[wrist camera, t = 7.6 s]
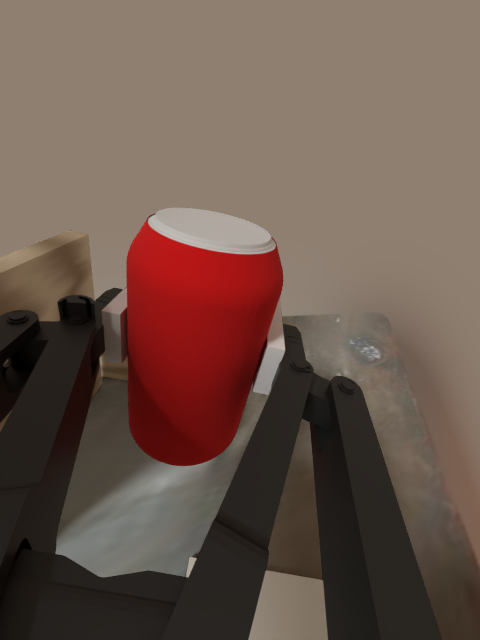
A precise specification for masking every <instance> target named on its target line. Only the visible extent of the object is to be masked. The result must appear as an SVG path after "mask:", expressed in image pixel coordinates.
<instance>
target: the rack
mask: <svg viewBox="0 0 480 640" xmlns="http://www.w3.org/2000/svg"><path fill="white" fill-rule="evenodd" d="M70 295H84V296H88V297H90V298H92V299H93V300H94V291H93V279H92V268H91V258H90V247H89V236H88V234H85V233H81V232H76V231H72V230H70V231H68V232H65V233H62V234H60V235H57V236H55V237H52V238H49V239H47V240H44V241H42V242H39V243H36V244H34V245H31V246H29V247H26V248H23V249H21V250H18V251H16V252H13V253H10V254H8V255H5V256H2V257H0V316H1V315H3V314H5V313H7V312H11V311H15V310H29V311H33V312H35V313H36V314H38V318H39V321H59V320H60V315H59V309H58V303H57V302H58V301H59V300H60V299H61V298H63V297H66V296H70ZM94 301H95V300H94ZM7 362H8V359H7V360H6V362H5V363H4V365H5V364H6V363H7ZM99 364H100V366H99V370H98V374H97V378H96V382H95V386H94V390H93V394H92V397H91V400H92V399H93V397H94V396H95V395H96V393H97V392H98V390H99V389H100V388H101V386H102V377H108V378H113V379H118V380H123V381H128V356H127V357H126V359H125V360H124V362H123V363H122V365H121V364H117V363H112V362H107V361H105V353H103V354H102V355H101V357H100V358H99ZM90 402H91V401H90ZM11 411H12V410H11ZM11 411H10V413H11ZM10 413H9V414H8V415H7V416H6V417H5V418H4V419H3V421H2V422H1V423H0V432H1V430H2V428H3V426H4V424H5V422H6V420H7V418H8V417H9V415H10Z"/></svg>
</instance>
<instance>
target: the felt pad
mask: <svg viewBox="0 0 480 640" xmlns="http://www.w3.org/2000/svg"><path fill="white" fill-rule="evenodd" d="M196 559H197V558H193V557H190V558H189V563H188V568H187V574H186V577H189V575H190V573H191V570H192V568H193V566H194V563H195V561H196ZM248 640H328V634H327V622H326V610H325V598H324V586H323V580H319V579H313V578H307V577H302V576H296V575H290V574H285V573H279V572H273V571H267V570H266V572H265V576H264V580H263V584H262V588H261V592H260V596H259V600H258V604H257V608H256V612H255V616H254V619H253V623H252V627H251V631H250V635H249V639H248Z"/></svg>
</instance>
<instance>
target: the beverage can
mask: <svg viewBox="0 0 480 640" xmlns="http://www.w3.org/2000/svg"><path fill="white" fill-rule="evenodd" d="M282 286H283V270H282V266H281V262H280V257H279V253H278V249H277V245H276V242H275V240H274V239H273V238H272V237H271V236H270V234H269V233H268V232H267V231H266V230H264V229H263V228H261V227H259V226H258V225H256V224H253V223H251V222H248V221H246V220H243V219H240V218H237V217H234V216H230V215H227V214H222V213H218V212H213V211H207V210H201V209H193V208H192V209H191V208H167V209H162V210H160V211H158V212H157V213H155V214H153V215H151V216H149V217H148V219H147V220H146V222H145V223H144V225H143V226H142V228H141V230H140V231H139V233H138V234H137V236H136V237H135V239H134V240H133V242H132V244H131V246H130V249H129V252H128V256H127V335H128V405H129V427H130V431H131V434H132V436H133V438H134V440H135V442H136V443H137V444H138V446H139V447H140V448H141V449H142V450H143V451H144V452H145V453H146V454H148V455H149V456H151V457H152V458H154V459H156V460H158V461H160V462H163V463H166V464H170V465H177V466H190V465H197V464H200V463H204V462H206V461H209V460H211V459H213V458H215V457H216V456H218V455H219V454H221V453H222V452H223V451H224V450H225V449H226V448H227V447H228V446H229V445H230V443H231V442H232V440H233V438H234V437H235V434H236V432H237V429H238V426H239V423H240V420H241V416H242V413H243V410H244V407H245V404H246V401H247V398H248V395H249V392H250V388H251V385H252V382H253V379H254V376H255V373H256V370H257V367H258V363H259V360H260V357H261V354H262V351H263V348H264V345H265V342H266V338H267V335H268V332H269V329H270V326H271V323H272V320H273V317H274V313H275V310H276V307H277V304H278V301H279V298H280V294H281V291H282Z"/></svg>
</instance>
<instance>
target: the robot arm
mask: <svg viewBox="0 0 480 640" xmlns="http://www.w3.org/2000/svg"><path fill="white" fill-rule="evenodd" d="M57 303H58V309H59V315H60V320H59V321H39V318H38V314H36V313H35V312H33V311H29V310H15V311H11V312H7V313H5V314H3V315H1V316H0V423H1V422H2V421H3V419H4V418H5V417H6V416H7V415H8V414H9V413H10V411H11V410H12V411H11V413H10V415H9V417H8V418H7V420H6V422H5V424H4V426H3V428H2V430H1V432H0V640H248V639H249V635H250V631H251V627H252V623H253V619H254V616H255V612H256V608H257V604H258V600H259V596H260V592H261V588H262V584H263V580H264V576H265V572H266V567H267V563H268V556H269V551H268V545H269V541H270V536H271V533H272V529H273V525H274V521H275V517H276V514H277V510H278V506H279V502H280V498H281V494H282V491H283V487H284V483H285V479H286V475H287V472H288V468H289V464H290V460H291V456H292V453H293V449H294V445H295V441H296V437H297V433H298V430H299V426H300V422H301V418H302V419H304V420H306V421H308V422H310V430H311V442H312V454H313V466H314V478H315V490H316V502H317V514H318V526H319V538H320V550H321V562H322V574H323V586H324V598H325V610H326V622H327V634H328V640H442V639H441V636H440V633H439V629H438V626H437V623H436V620H435V617H434V614H433V611H432V608H431V605H430V601H429V598H428V595H427V592H426V589H425V586H424V583H423V580H422V576H421V573H420V570H419V567H418V564H417V561H416V558H415V555H414V551H413V548H412V545H411V542H410V539H409V536H408V533H407V530H406V526H405V523H404V520H403V517H402V514H401V511H400V508H399V505H398V501H397V498H396V495H395V492H394V489H393V486H392V483H391V480H390V476H389V473H388V470H387V467H386V464H385V461H384V458H383V455H382V452H381V448H380V445H379V442H378V439H377V436H376V433H375V430H374V427H373V423H372V420H371V417H370V414H369V411H368V408H367V405H366V402H365V398H364V395H363V392H362V390H361V388H360V387H359V386H358V385H357V384H356V383H355V382H354V381H352V380H351V379H349V378H346V377H343V376H336V377H334V378H333V379H332V380H331V381H329V380H327V379H324V378H322V377H320V376H318V375H316V374H315V373H314V372H313V367H312V366H311V364H310V363H309V362H307V361H306V358H305V353H304V348H303V345H302V344H303V343H302V340H301V339H302V338H301V333H300V332H299V330H298V329H297V328H296V327H294V326H290V325H285V324H283V323H282V314H281V304H280V298H279V301H278V304H277V307H276V310H275V313H274V317H273V320H272V323H271V326H270V329H269V332H268V335H267V338H266V342H265V345H264V348H263V351H262V354H261V357H260V360H259V363H258V367H257V370H256V373H255V376H254V379H253V392H257V393H261V394H266V395H269V392H270V390H271V389H272V390H271V393H270V395H269V397H268V399H267V402H266V404H265V406H264V409H263V411H262V413H261V415H260V418H259V420H258V422H257V425H256V427H255V429H254V431H253V434H252V436H251V438H250V441H249V443H248V445H247V447H246V450H245V452H244V454H243V457H242V459H241V461H240V463H239V466H238V468H237V470H236V472H235V475H234V477H233V479H232V482H231V484H230V486H229V488H228V491H227V493H226V495H225V498H224V500H223V502H222V504H221V507H220V509H219V511H218V513H217V516H216V518H215V519H214V521H213V523H212V525H211V527H210V530H209V532H208V534H207V536H206V539H205V541H204V543H203V545H202V548H201V550H200V552H199V554H198V557H197V559H196V561H195V563H194V566H193V568H192V570H191V573H190V575H189V577H182V576H177V575H171V574H165V573H160V572H154V571H143V572H137V573H131V574H124V575H118V576H112V577H105V578H102V577H99V576H97V575H95V574H93V573H92V572H90V571H88V570H87V569H85V568H84V567H82V566H80V565H79V564H77V563H75V562H74V561H72V560H70V559H69V558H67V557H66V556H63V555H57V554H55V551H56V536H57V530H58V525H59V521H60V517H61V513H62V509H63V506H64V502H65V498H66V494H67V490H68V486H69V482H70V479H71V475H72V471H73V467H74V463H75V459H76V455H77V451H78V448H79V444H80V440H81V436H82V432H83V428H84V424H85V421H86V417H87V413H88V409H89V405H90V401H91V397H92V394H93V390H94V386H95V382H96V378H97V374H98V370H99V366H100V364H99V358H100V357H101V355H102V354H103V353H105V361H107V362H112V363H117V364H121V365H122V363H123V362H124V360H125V359H126V357H127V356H128V335H127V287H126V288H124V289H123V290H122V289H118V288H113V289H110V290H108V291H106V292H104V293H103V294H102V295H101V296H100V297H99V298H97V299H96V301H94V300H93V299H92V298H90V297H88V296H84V295H70V296H66V297H63V298H61V299H60V300H59V301H58V302H57ZM7 359H8V362H7V363H6V364H5V365H4V363H5V362H6V360H7Z"/></svg>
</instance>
